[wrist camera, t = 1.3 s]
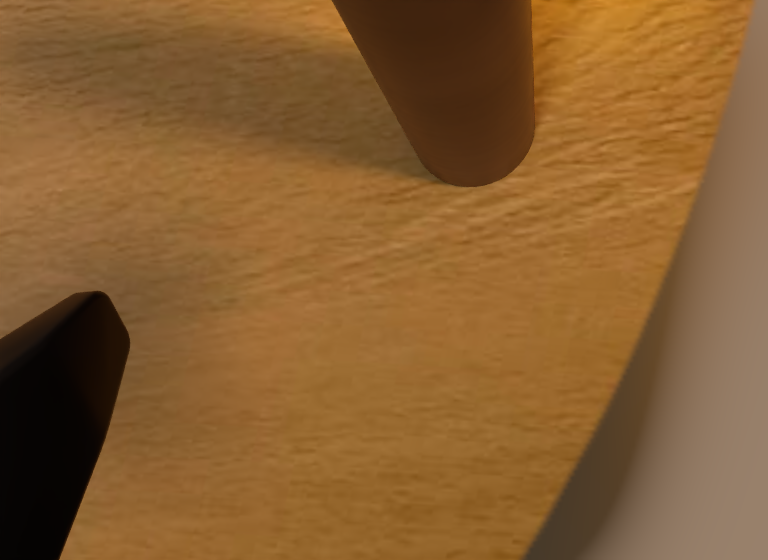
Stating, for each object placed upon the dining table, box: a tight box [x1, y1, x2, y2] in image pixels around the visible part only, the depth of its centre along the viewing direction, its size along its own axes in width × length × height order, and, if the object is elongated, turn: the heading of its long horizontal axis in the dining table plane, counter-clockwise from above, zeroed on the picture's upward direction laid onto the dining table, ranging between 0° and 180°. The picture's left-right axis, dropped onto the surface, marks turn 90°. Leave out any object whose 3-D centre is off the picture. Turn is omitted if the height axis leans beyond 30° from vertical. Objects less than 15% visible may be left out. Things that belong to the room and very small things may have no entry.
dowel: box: [332, 0, 535, 187], centre depth 16 cm, size 4×4×15 cm
